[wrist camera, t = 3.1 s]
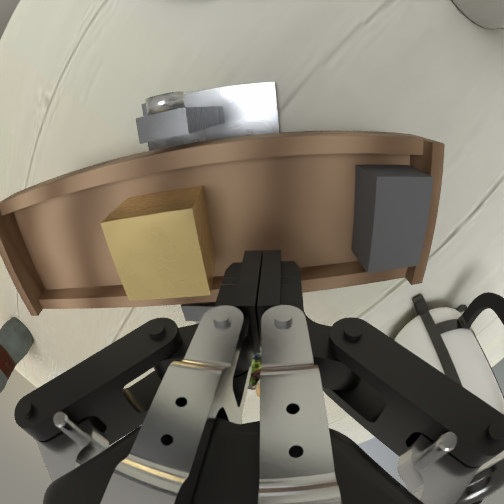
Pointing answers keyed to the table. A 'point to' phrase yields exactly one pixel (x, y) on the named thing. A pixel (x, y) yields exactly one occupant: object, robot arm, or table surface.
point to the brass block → (162, 244)
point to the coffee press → (460, 368)
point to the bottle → (12, 347)
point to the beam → (211, 212)
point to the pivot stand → (208, 127)
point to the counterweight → (390, 216)
